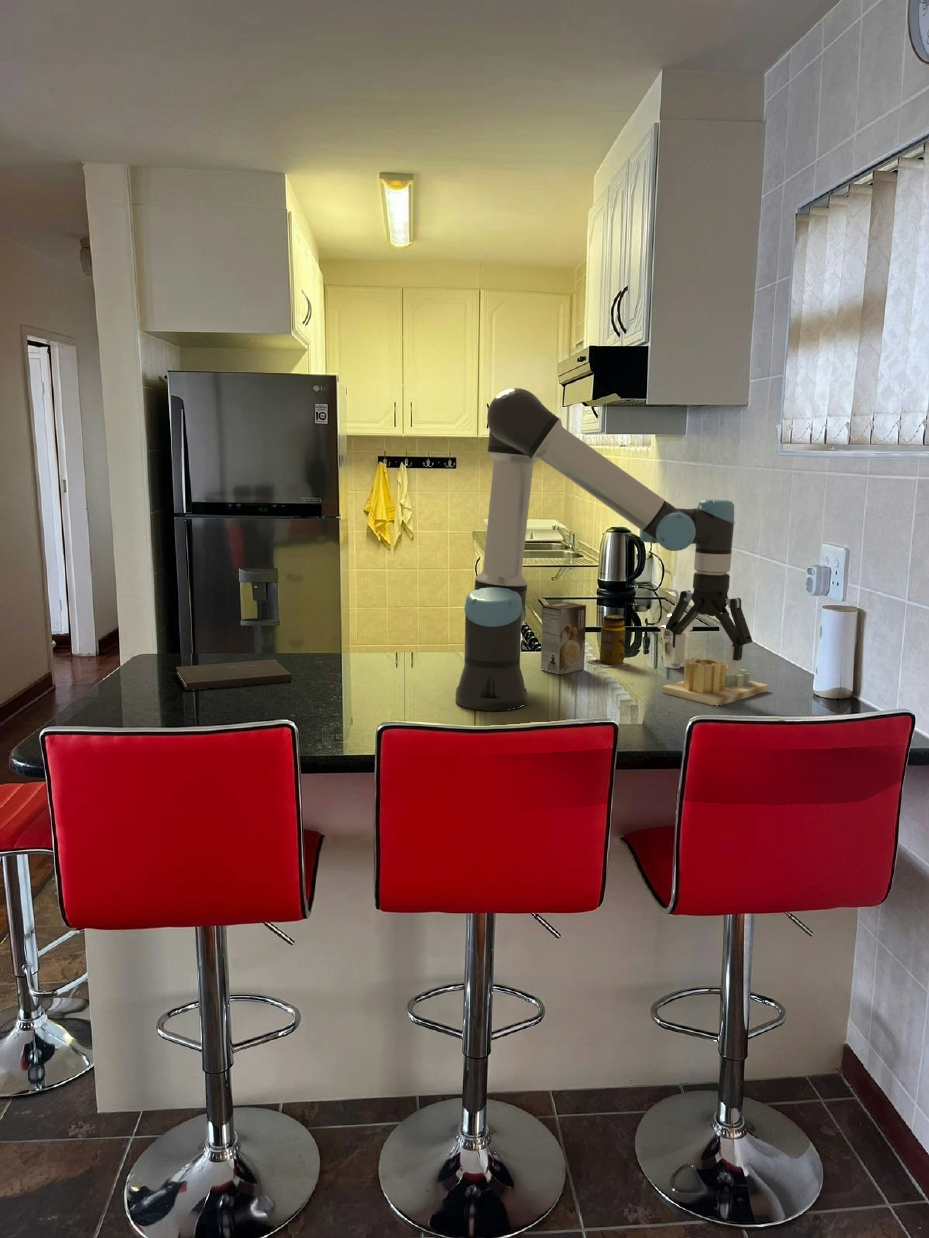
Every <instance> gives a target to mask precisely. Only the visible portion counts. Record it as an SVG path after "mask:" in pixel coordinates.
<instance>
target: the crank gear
mask: <svg viewBox="0 0 929 1238" xmlns="http://www.w3.org/2000/svg"><path fill="white" fill-rule="evenodd" d="M739 661H740V660H739ZM739 661H738V663H739ZM727 671H728V665H727ZM750 674H751V673H750V672H748V670H747V669H741V668H740V669H739V668H738V671H737V674H736V675H732V676H728V675H727V672H726V686H727V687H728V686H737V687H743V684H744V685H748V684H749V681H750Z"/></svg>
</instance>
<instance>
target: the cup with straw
mask: <svg viewBox="0 0 929 1238" xmlns="http://www.w3.org/2000/svg"><path fill="white" fill-rule="evenodd" d="M656 590H657V591H662V592H669V593H674V594H675V603H674V604H675V607H676V605H677V604H678V602H679V598H680V593H679V592H678V590H677V589H672V588H665V587H660V586H657V588H656ZM675 607H674V608H675ZM672 613H673V611H670V612H668V613H666V614H665V615H664V616H663V617H662V619H661V622H659V623H658V625H657V628H658V629H660V635H661V636H660V637H661V643H662V658H663V667H664V668H667V667H668V669H681V668H680V667H682V668H683V663H678V664H675V663H674V654H675V648H673V646H672V644H673V633H672V631H670V630H667V629H666V624H667V623H668V621H669V619H670V617H671V615H672ZM685 615H686V614H685V613H684V614H683V616H682V617H681V619H680V621H681V620H682V619H683V617H684V616H685ZM680 621H679V622H680ZM692 630H693V625H692V624H691V623H690V624H689V625H688V626H687V628H686V629H685V630H684V632H682V633H683V634H686V638H685V650H686V648H687V647H686V646H687V643H688V639H689V636H690V631H692ZM682 633H681V634H682ZM685 653H686V652H685ZM685 653H684V655H685Z"/></svg>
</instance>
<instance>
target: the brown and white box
mask: <svg viewBox="0 0 929 1238" xmlns="http://www.w3.org/2000/svg"><path fill="white" fill-rule="evenodd" d="M541 609H542V611H541V612H542V613H541V615H542V616H541V619H542V620H541V647H540V648H541V649H540V651H541V654H540V656H541V657H540V670H541V669H544V670H547V671H550V672H553V673H555V674H554V675H557V674H561V675H565V674H569V673H574V672H578V671H583V670H585V657H586V656H585V654H586V653H585V650H586V627H587V626H586V619H587V605H586V604H579V603H575V602H566V601H565V602H560V603H559V602H558V603H552V604H546V605H542V607H541ZM550 672H549V673H550ZM553 673H552V674H553Z"/></svg>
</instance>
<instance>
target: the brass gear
mask: <svg viewBox="0 0 929 1238" xmlns="http://www.w3.org/2000/svg"><path fill="white" fill-rule="evenodd" d="M727 666H728V663H726V661H724V660H721V659H720V660H719V659H718V660H717V659H714V658H711V657H706V658H699V657H691V659H689V658H685V659H684V669H683V670H684V671H683V681H684V683H683V687H685V690H688V691H696V692H697V693H701V694H703V693H712V694H719V692H724V691H725V686H726V672H727Z"/></svg>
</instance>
